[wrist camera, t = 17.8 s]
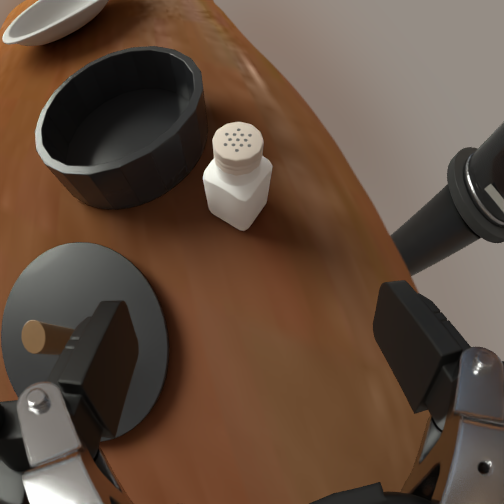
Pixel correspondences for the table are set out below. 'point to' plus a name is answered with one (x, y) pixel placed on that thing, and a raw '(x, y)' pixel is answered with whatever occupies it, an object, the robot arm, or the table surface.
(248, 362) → the table surface
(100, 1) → the soup bowl
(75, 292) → the lid
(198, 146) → the pot
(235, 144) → the pepper shaker
